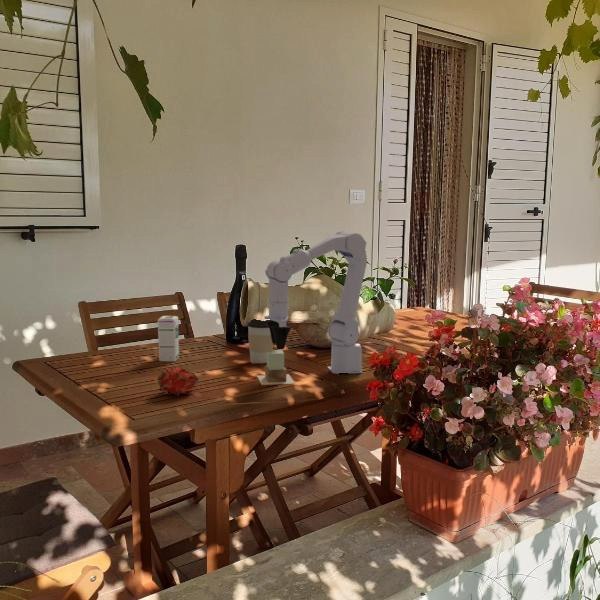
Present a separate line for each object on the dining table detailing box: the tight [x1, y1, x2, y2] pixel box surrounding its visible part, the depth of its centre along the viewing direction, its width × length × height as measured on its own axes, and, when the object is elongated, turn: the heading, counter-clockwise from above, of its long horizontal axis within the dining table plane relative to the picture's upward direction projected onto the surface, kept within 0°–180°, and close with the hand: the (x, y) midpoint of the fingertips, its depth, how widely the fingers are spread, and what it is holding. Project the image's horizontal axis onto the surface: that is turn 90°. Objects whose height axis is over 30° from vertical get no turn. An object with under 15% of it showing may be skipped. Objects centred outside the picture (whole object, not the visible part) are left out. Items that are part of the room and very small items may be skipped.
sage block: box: [266, 349, 285, 370], centre depth 195 cm, size 4×4×5 cm
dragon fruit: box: [156, 366, 199, 397], centre depth 181 cm, size 8×8×12 cm
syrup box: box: [157, 315, 180, 362], centre depth 218 cm, size 6×6×14 cm
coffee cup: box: [247, 319, 274, 364], centre depth 217 cm, size 9×9×15 cm
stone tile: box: [256, 373, 296, 386], centre depth 196 cm, size 10×10×1 cm
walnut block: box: [264, 365, 287, 382], centre depth 195 cm, size 6×6×4 cm
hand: (278, 346), depth 196 cm, fingers open, 7 cm apart
